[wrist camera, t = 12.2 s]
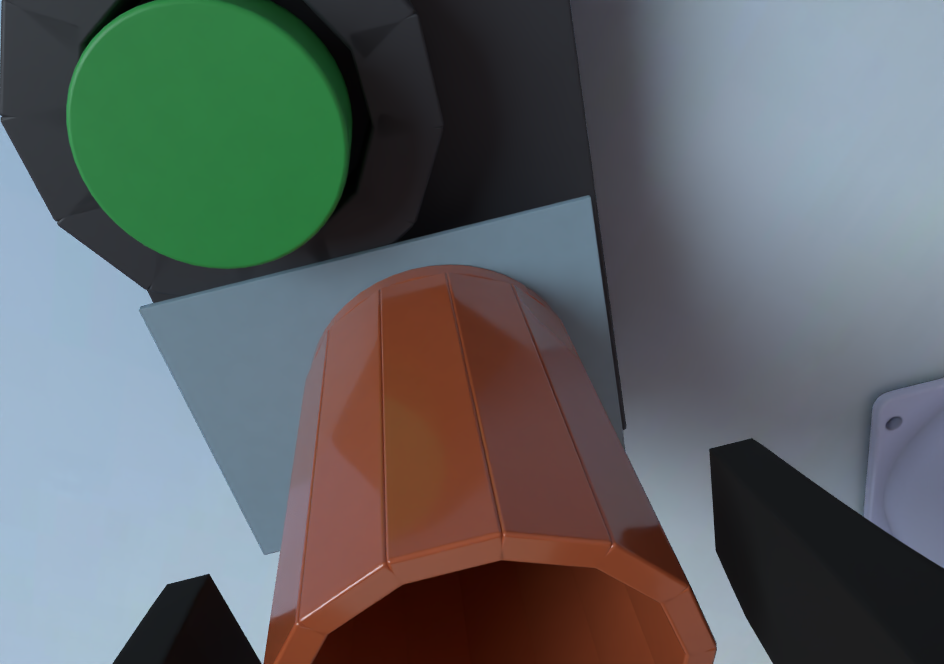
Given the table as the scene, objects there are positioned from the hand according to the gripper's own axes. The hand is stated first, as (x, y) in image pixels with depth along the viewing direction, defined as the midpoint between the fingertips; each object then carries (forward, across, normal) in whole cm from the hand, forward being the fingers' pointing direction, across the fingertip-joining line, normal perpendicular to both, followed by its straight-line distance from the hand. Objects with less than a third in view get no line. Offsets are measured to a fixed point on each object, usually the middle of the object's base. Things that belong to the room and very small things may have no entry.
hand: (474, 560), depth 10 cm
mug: (+5, 0, 0) cm, 5 cm away
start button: (+6, +2, -6) cm, 8 cm away
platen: (+5, +1, 0) cm, 5 cm away
